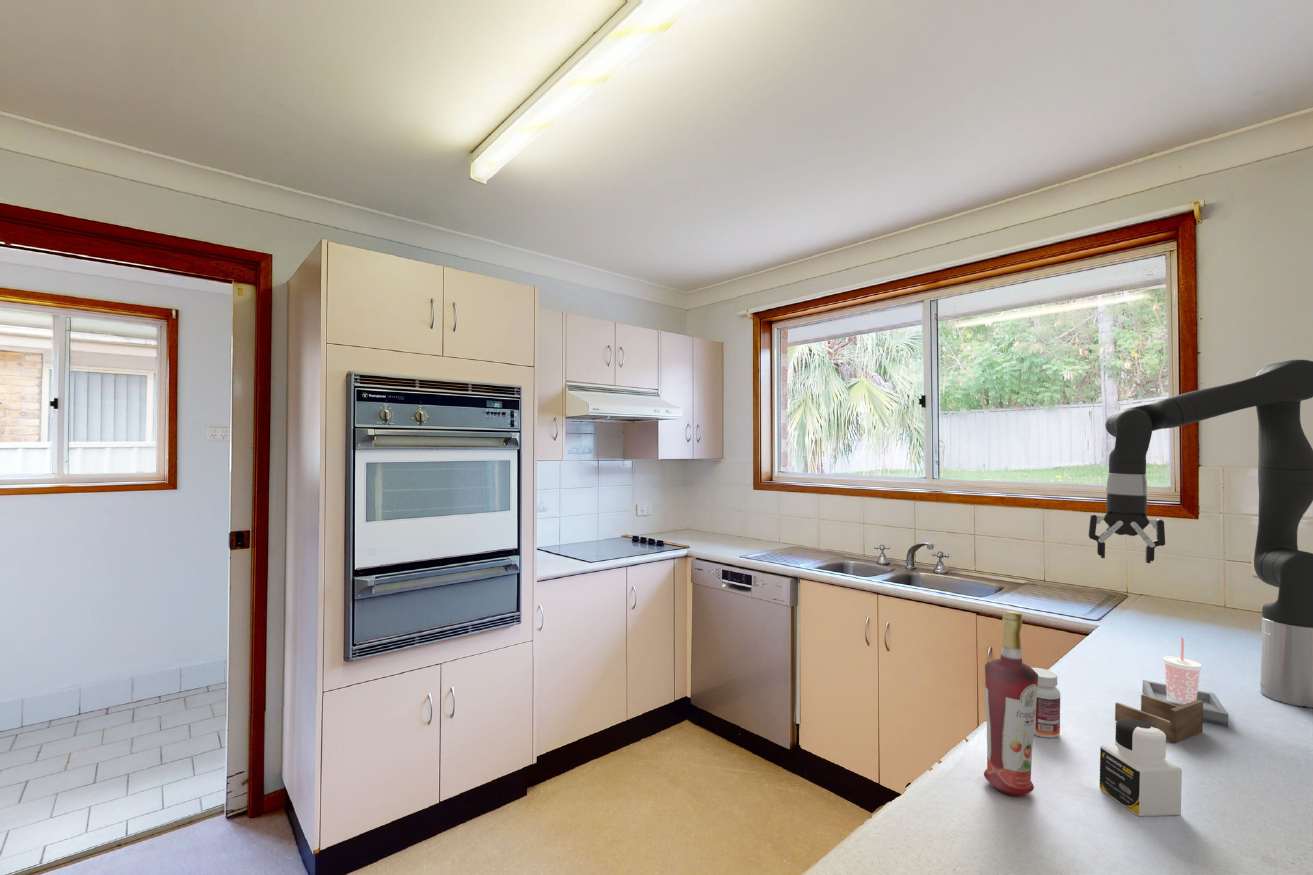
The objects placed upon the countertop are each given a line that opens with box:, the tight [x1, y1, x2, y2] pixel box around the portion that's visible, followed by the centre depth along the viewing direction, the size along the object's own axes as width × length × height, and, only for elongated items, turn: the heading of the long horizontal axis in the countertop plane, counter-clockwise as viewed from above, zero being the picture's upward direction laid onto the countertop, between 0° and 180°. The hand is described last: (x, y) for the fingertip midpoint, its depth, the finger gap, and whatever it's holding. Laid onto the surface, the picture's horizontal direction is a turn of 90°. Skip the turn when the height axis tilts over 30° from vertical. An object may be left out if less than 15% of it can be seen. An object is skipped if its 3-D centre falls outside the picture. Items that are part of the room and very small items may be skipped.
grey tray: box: [1141, 679, 1229, 728], centre depth 126 cm, size 12×12×2 cm
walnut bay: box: [1114, 693, 1204, 744], centre depth 117 cm, size 10×11×6 cm
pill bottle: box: [1031, 667, 1061, 739], centre depth 114 cm, size 6×6×11 cm
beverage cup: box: [1162, 636, 1202, 704], centre depth 126 cm, size 6×6×14 cm
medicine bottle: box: [1099, 719, 1183, 817], centre depth 92 cm, size 7×7×12 cm
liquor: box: [983, 610, 1038, 798], centre depth 94 cm, size 7×7×28 cm
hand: (1125, 560), depth 142 cm, fingers open, 8 cm apart
